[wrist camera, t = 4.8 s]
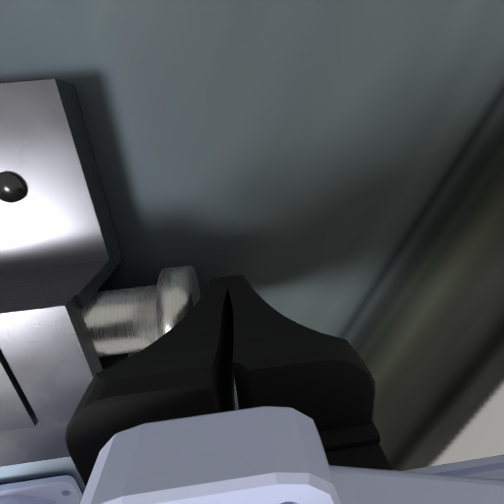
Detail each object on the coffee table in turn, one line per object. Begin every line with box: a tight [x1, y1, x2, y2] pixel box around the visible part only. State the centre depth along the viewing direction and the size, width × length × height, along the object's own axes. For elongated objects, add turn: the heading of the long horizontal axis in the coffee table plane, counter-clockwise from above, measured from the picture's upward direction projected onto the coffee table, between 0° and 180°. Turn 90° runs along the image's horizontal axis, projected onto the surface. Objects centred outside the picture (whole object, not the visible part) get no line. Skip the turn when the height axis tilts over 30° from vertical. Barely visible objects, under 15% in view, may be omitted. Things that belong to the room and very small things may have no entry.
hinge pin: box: [80, 265, 201, 357], centre depth 11 cm, size 14×4×4 cm, turn 95°
